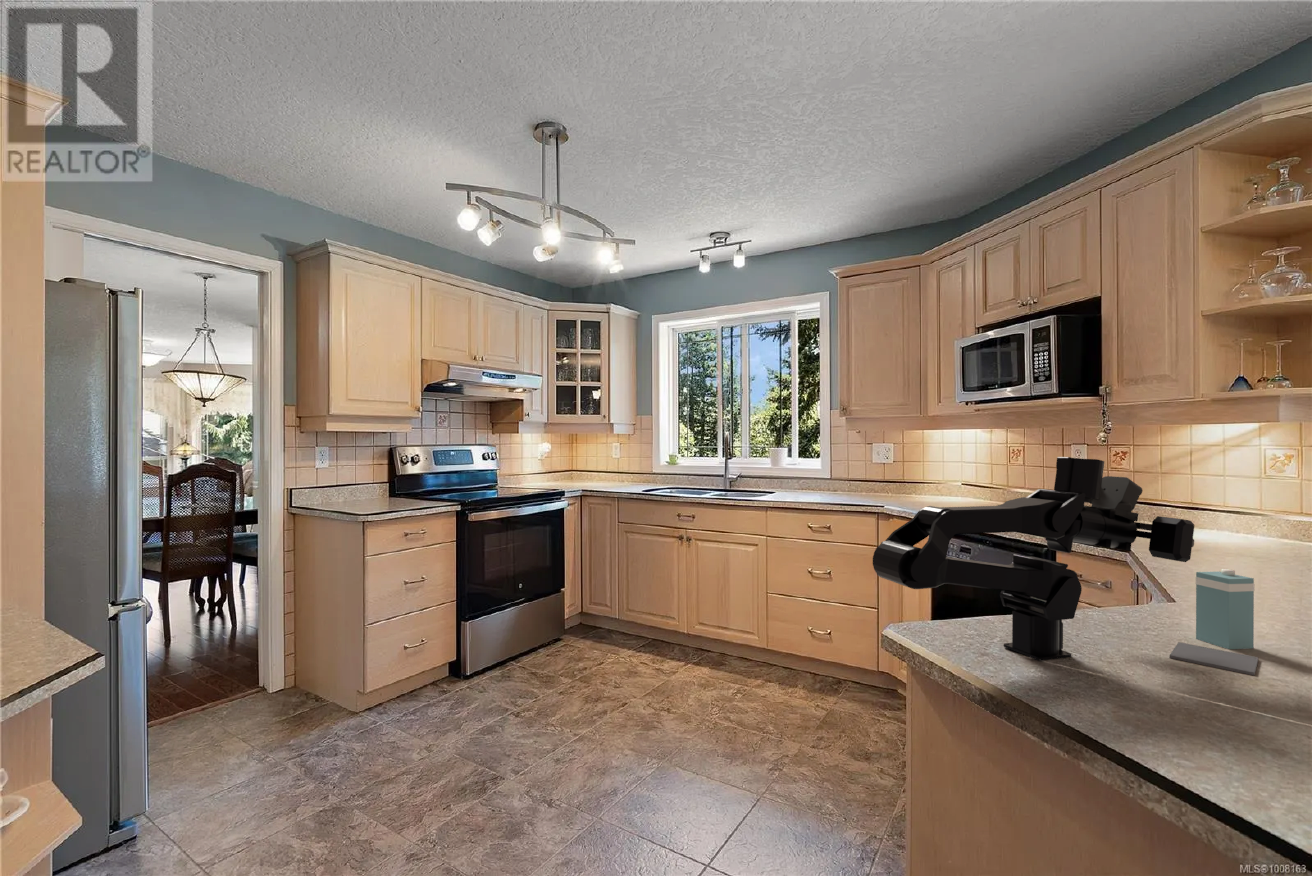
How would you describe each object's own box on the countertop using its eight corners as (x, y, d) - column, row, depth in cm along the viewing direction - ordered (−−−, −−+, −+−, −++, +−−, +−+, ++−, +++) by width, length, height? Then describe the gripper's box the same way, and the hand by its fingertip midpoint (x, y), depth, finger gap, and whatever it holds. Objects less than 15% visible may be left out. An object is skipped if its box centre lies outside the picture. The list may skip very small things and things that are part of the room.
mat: (1254, 675, 83) (1254, 672, 83) (1169, 657, 89) (1169, 655, 89) (1258, 660, 89) (1258, 657, 89) (1178, 644, 96) (1178, 642, 96)
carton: (1228, 649, 94) (1229, 573, 94) (1195, 638, 99) (1195, 567, 99) (1254, 648, 94) (1254, 573, 94) (1219, 637, 99) (1219, 566, 99)
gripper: (1157, 479, 86) (1234, 494, 90) (1043, 472, 104) (1111, 485, 108) (1147, 556, 85) (1225, 568, 89) (1034, 535, 103) (1103, 546, 107)
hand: (1161, 538), depth 98 cm, fingers open, 9 cm apart
